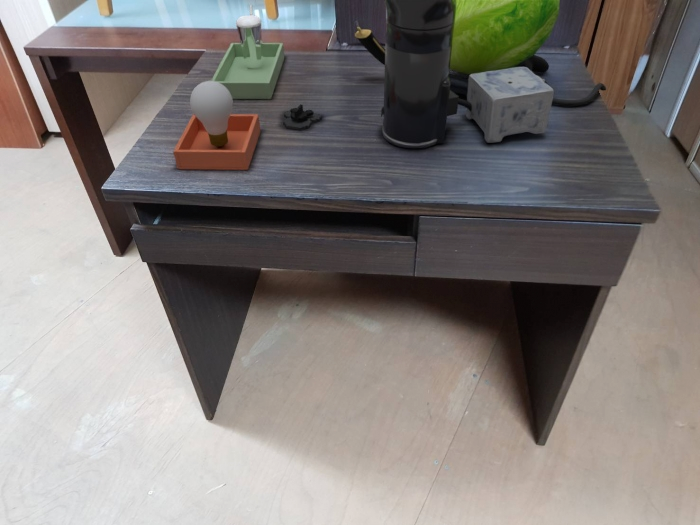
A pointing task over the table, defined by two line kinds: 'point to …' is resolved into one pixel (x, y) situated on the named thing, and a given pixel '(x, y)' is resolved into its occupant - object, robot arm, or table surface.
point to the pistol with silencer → (378, 52)
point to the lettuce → (499, 33)
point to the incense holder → (509, 102)
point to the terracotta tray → (203, 155)
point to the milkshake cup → (250, 39)
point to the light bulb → (213, 110)
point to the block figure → (300, 118)
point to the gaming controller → (535, 65)
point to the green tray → (250, 72)
